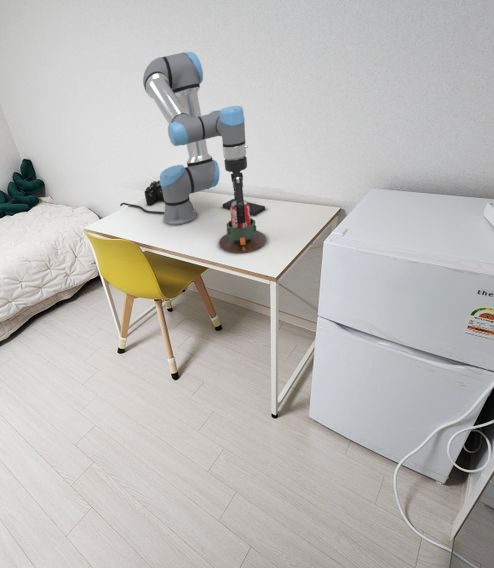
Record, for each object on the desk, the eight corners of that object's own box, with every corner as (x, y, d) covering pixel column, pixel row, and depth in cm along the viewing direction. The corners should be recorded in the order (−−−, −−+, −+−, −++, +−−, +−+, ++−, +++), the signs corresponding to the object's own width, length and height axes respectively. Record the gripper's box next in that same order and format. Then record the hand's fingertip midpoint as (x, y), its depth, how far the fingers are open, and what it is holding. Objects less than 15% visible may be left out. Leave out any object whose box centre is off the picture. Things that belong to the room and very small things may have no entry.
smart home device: (233, 198, 170) (265, 205, 156) (233, 201, 171) (266, 209, 157) (221, 204, 166) (253, 212, 152) (221, 207, 167) (253, 216, 153)
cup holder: (227, 230, 139) (226, 219, 136) (255, 226, 137) (254, 215, 135) (228, 246, 128) (226, 234, 125) (258, 243, 126) (257, 231, 123)
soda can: (250, 236, 130) (248, 205, 123) (231, 237, 132) (228, 207, 125) (251, 227, 135) (249, 198, 129) (233, 228, 137) (230, 199, 131)
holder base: (263, 228, 142) (262, 222, 140) (269, 250, 127) (268, 243, 126) (218, 234, 144) (218, 227, 143) (219, 256, 130) (219, 249, 128)
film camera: (167, 205, 182) (163, 187, 176) (145, 207, 185) (141, 189, 179) (175, 193, 196) (172, 175, 190) (155, 194, 199) (151, 177, 194)
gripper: (249, 166, 107) (253, 228, 119) (243, 146, 128) (247, 201, 139) (225, 169, 108) (231, 231, 120) (223, 149, 129) (228, 204, 141)
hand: (240, 215), depth 130 cm, fingers open, 13 cm apart
